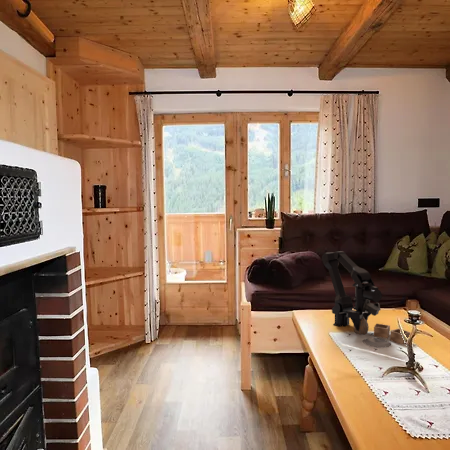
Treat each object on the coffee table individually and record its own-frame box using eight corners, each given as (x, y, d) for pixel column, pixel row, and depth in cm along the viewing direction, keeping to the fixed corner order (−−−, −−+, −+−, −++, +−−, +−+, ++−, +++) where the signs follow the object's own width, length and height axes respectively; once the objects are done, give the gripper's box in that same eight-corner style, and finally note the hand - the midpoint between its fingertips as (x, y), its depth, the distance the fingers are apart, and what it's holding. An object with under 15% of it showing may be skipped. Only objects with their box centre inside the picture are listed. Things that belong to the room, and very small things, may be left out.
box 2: (390, 341, 176) (390, 330, 175) (398, 339, 179) (398, 328, 178) (402, 345, 170) (402, 334, 170) (410, 343, 174) (410, 332, 173)
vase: (369, 336, 182) (369, 318, 182) (354, 335, 183) (354, 317, 183) (367, 331, 189) (367, 314, 188) (352, 330, 190) (352, 313, 190)
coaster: (358, 344, 173) (358, 342, 172) (369, 337, 181) (369, 336, 181) (385, 351, 164) (385, 349, 164) (395, 343, 173) (395, 342, 173)
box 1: (373, 337, 181) (374, 326, 181) (376, 333, 186) (376, 323, 186) (387, 339, 178) (387, 329, 178) (389, 335, 183) (389, 325, 183)
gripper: (370, 303, 173) (369, 337, 174) (385, 296, 186) (384, 327, 187) (346, 299, 180) (346, 332, 181) (363, 292, 194) (362, 322, 195)
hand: (360, 328), depth 186 cm, fingers closed on vase, 7 cm apart
